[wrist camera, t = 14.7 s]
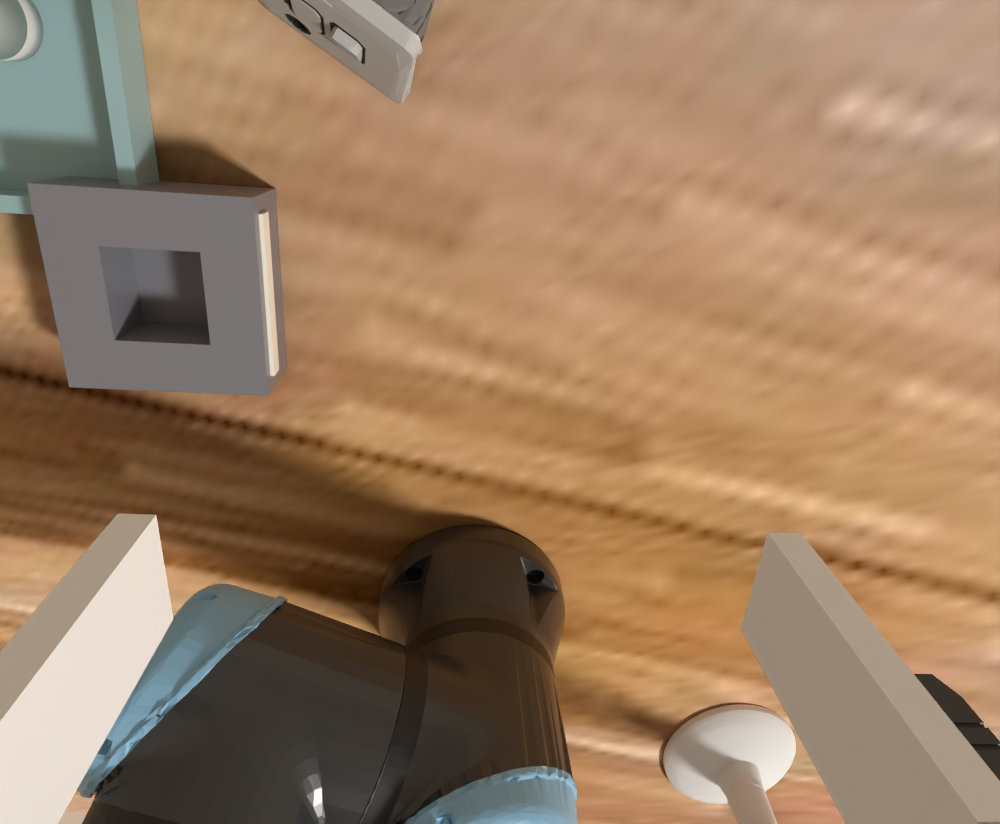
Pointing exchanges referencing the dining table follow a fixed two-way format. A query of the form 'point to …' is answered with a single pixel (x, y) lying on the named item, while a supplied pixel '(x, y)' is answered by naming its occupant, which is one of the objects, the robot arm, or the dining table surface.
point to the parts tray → (77, 102)
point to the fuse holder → (163, 284)
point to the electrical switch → (364, 36)
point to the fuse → (19, 30)
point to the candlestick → (731, 758)
